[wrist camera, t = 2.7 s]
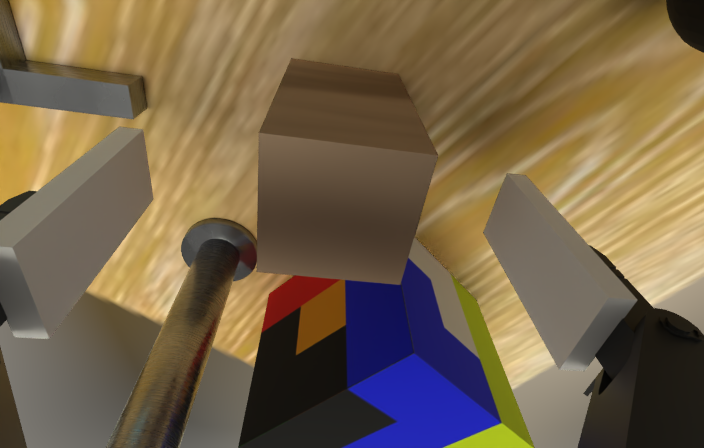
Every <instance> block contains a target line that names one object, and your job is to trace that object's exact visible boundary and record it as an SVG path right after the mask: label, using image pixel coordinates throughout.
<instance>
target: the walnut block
mask: <svg viewBox="0 0 704 448" xmlns="http://www.w3.org/2000/svg"><path fill="white" fill-rule="evenodd" d="M437 158H438V154H437V152H436V150H435V148H434V146H433V144H432V142H431V140H430V138H429V136H428V134H427V132H426V130H425V128H424V126H423V124H422V122H421V120H420V118H419V115H418V113H417V111H416V109H415V107H414V105H413V103H412V101H411V99H410V97H409V95H408V93H407V91H406V89H405V87H404V85H403V83H402V81H401V79H400V77H399V75H398V74H393V73H386V72H380V71H373V70H366V69H360V68H353V67H346V66H339V65H333V64H326V63H319V62H313V61H306V60H299V59H292V58H291V61H290V63H289V65H288V67H287V70H286V72H285V74H284V77H283V79H282V81H281V83H280V86H279V88H278V90H277V93H276V95H275V97H274V99H273V102H272V104H271V106H270V109H269V111H268V113H267V115H266V118H265V120H264V122H263V125H262V127H261V129H260V132H259V160H258V221H257V272H264V273H275V274H286V275H297V276H308V277H319V278H330V279H341V280H352V281H363V282H374V283H385V284H396V285H400V284H401V280H402V277H403V274H404V270H405V267H406V263H407V260H408V257H409V253H410V250H411V246H412V243H413V240H414V236H415V233H416V229H417V226H418V223H419V219H420V216H421V212H422V209H423V206H424V202H425V199H426V195H427V192H428V188H429V185H430V182H431V178H432V175H433V171H434V168H435V165H436V161H437Z"/></svg>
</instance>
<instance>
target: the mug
mask: <svg viewBox="0 0 704 448" xmlns="http://www.w3.org/2000/svg"><path fill="white" fill-rule="evenodd" d="M666 2H667V11H668V15H669V19H670V21H671V23H672V25H673V27H674V29H675V31H676V32H677V33H678V35H679V36H680V37H681V38H682V40H683V41H684V42H686V43H687V44H688V45H690V46H691V47H693V48H695V49H697V50H699V51H701V52H704V0H666Z"/></svg>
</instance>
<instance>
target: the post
mask: <svg viewBox="0 0 704 448" xmlns="http://www.w3.org/2000/svg"><path fill="white" fill-rule="evenodd" d="M181 252H182V256H183V259H184V261H185V262H186V264H187V265H188V266H189V267H190V269H189V271H188V273H187V275H186V277H185V280H184V282H183V284H182V286H181V288H180V290H179V292H178V294H177V297H176V299H175V301H174V303H173V305H172V307H171V309H170V311H169V314H168V316H167V318H166V320H165V322H164V324H163V326H162V329H161V331H160V333H159V335H158V337H157V339H156V341H155V343H154V346H153V348H152V350H151V352H150V354H149V356H148V358H147V361H146V363H145V365H144V367H143V369H142V371H141V373H140V375H139V377H138V380H137V382H136V384H135V386H134V388H133V390H132V393H131V395H130V397H129V399H128V401H127V403H126V405H125V408H124V409H123V412H122V414H121V416H120V418H119V420H118V422H117V424H116V426H115V429H114V431H113V433H112V435H111V437H110V439H109V441H108V444H107V446H106V448H179V447H180V444H181V441H182V438H183V435H184V432H185V429H186V425H187V422H188V419H189V416H190V413H191V410H192V407H193V403H194V401H195V397H196V394H197V391H198V388H199V385H200V382H201V379H202V376H203V373H204V369H205V366H206V363H207V360H208V357H209V354H210V351H211V348H212V344H213V341H214V338H215V335H216V332H217V329H218V326H219V323H220V320H221V316H222V313H223V310H224V307H225V304H226V301H227V298H228V295H229V291H230V288H231V285H232V282H233V281H237V280H240V279H243V278H244V277H246V276H248V275H249V274H250V273H251V272H252V271H253V269H254V268H255V266H256V262H257V242H256V240H255V238H254V237H253V236H252V234H251V233H250V232H249V231H248V230H247V229H245V228H244V227H243V226H241V225H239V224H237V223H235V222H232V221H229V220H225V219H206V220H203V221H200V222H198V223H196V224H194V225H193V226H192V227H191V228H190V229H189V230H188V232H187V234H186V235H185V237H184V239H183V241H182V245H181Z"/></svg>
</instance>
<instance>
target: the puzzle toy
mask: <svg viewBox="0 0 704 448" xmlns="http://www.w3.org/2000/svg"><path fill="white" fill-rule="evenodd" d="M238 448H534V445H533V442H532V440H531V437H530V435H529V432H528V430H527V427H526V425H525V422H524V420H523V417H522V415H521V412H520V409H519V407H518V404H517V402H516V399H515V397H514V394H513V392H512V389H511V387H510V384H509V382H508V379H507V376H506V374H505V371H504V369H503V366H502V364H501V361H500V359H499V356H498V354H497V351H496V349H495V346H494V344H493V341H492V338H491V336H490V333H489V331H488V328H487V326H486V323H485V321H484V318H483V316H482V313H481V311H480V308H479V305H478V303H477V300H476V299H475V298H474V297H473V296H472V295H471V294H470V293H469V292H468V291H467V290H466V289H465V288H464V287H463V286H462V285H461V284H460V283H459V282H458V281H457V280H456V279H455V278H454V277H453V276H452V275H451V274H450V273H449V272H448V271H447V270H446V269H445V268H444V267H443V266H442V265H441V264H440V263H439V262H438V261H437V260H436V259H435V257H434V256H433V255H432V254H431V253H430V252H429V251H428V250H427V249H426V248H425V247H424V246H423V245H422V244H421V243H420V242H419V241H418V240H417V239H416V238H415V237H414V240H413V243H412V246H411V250H410V253H409V257H408V260H407V263H406V267H405V270H404V274H403V277H402V280H401V284H400V285H396V284H385V283H374V282H363V281H352V280H341V279H330V278H319V277H308V276H297V275H295V276H294V277H292V278H291V279H289V280H288V281H287V282H285V283H284V284H282V285H281V286H280V287H278V288H277V289H276V290H274V291H273V292H271V293H270V294H269V298H268V303H267V308H266V313H265V318H264V323H263V328H262V333H261V338H260V342H259V347H258V352H257V357H256V362H255V367H254V372H253V377H252V382H251V387H250V392H249V397H248V402H247V407H246V412H245V417H244V422H243V427H242V432H241V437H240V442H239V446H238Z"/></svg>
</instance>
